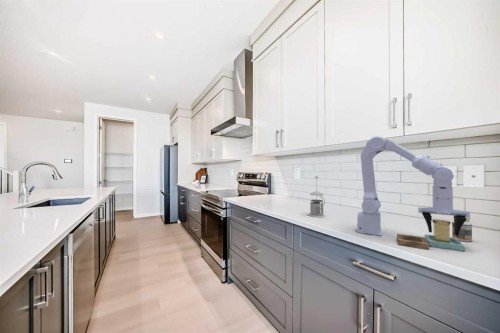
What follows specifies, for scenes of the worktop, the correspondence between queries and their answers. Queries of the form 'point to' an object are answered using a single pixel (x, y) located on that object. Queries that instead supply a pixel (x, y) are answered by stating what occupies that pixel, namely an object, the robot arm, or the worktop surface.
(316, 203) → the french press
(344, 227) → the worktop surface
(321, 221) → the worktop surface
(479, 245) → the worktop surface
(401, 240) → the holder block
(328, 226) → the worktop surface
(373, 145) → the robot arm
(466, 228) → the pill bottle
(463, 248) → the tray
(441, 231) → the brass pin
